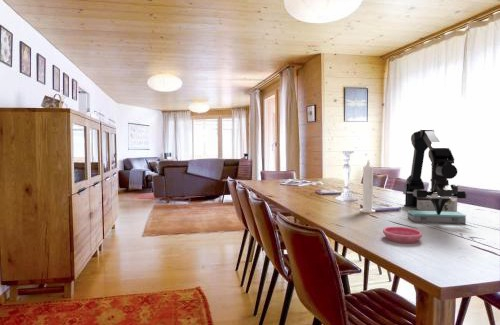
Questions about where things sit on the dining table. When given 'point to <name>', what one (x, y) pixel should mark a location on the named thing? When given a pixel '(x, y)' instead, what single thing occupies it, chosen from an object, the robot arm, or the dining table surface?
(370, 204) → the candle
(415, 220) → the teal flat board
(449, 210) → the coffee box
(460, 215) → the cover
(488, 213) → the dining table surface
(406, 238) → the saucer
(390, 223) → the dining table surface
